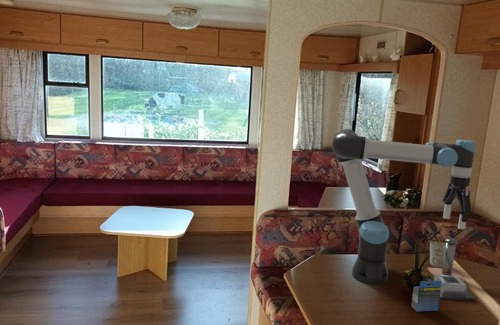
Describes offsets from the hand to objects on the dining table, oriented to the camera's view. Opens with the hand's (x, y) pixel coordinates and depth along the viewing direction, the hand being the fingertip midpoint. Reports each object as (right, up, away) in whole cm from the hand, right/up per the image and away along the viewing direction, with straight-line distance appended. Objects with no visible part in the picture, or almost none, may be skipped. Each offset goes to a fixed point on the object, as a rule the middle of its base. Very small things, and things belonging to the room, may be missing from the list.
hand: (453, 223), depth 179 cm
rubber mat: (-1, -24, +4) cm, 24 cm away
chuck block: (-7, -26, -10) cm, 29 cm away
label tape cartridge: (-24, -29, -25) cm, 45 cm away
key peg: (-1, -23, +4) cm, 24 cm away
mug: (+1, -22, +17) cm, 28 cm away
